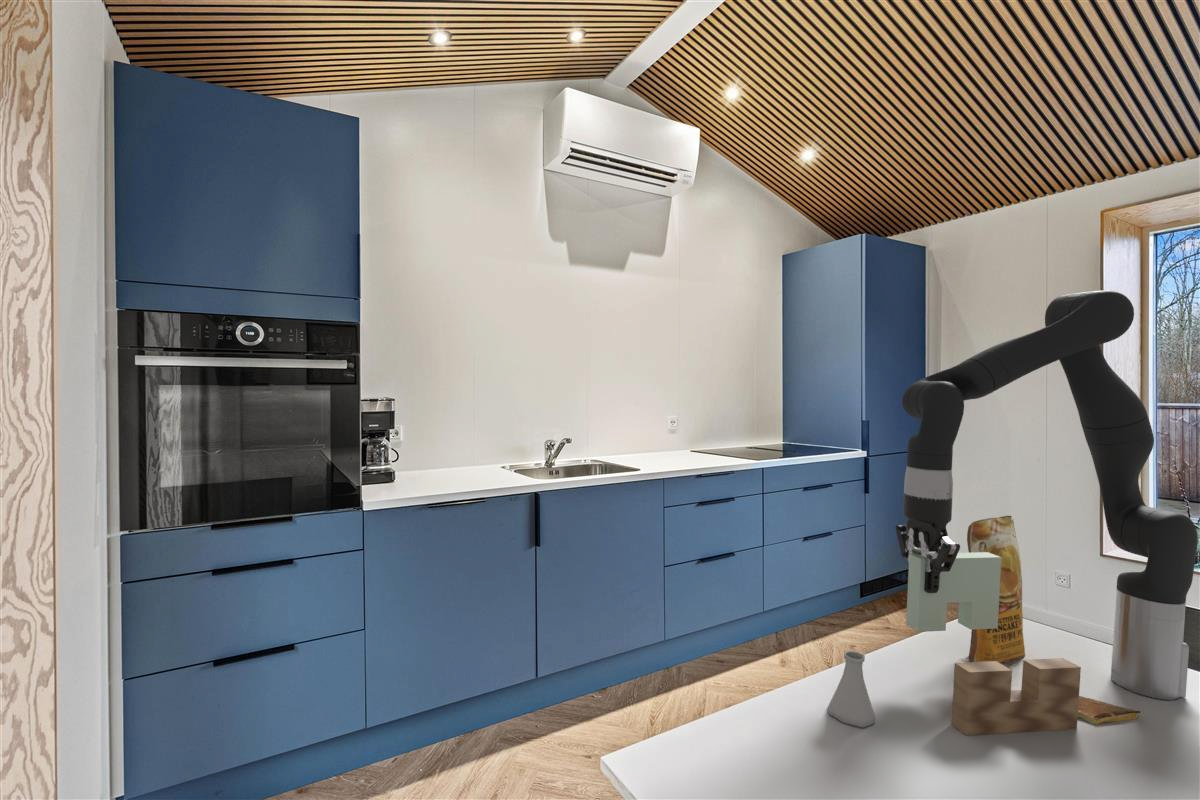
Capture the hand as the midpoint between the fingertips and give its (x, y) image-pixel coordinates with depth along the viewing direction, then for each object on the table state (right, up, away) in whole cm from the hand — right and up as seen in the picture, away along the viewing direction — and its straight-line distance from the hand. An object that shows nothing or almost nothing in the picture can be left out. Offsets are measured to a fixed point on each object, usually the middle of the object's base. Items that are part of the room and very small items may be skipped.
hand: (923, 588), depth 103 cm
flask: (-17, -18, -9) cm, 26 cm away
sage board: (+6, -7, +1) cm, 9 cm away
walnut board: (+8, -19, -11) cm, 23 cm away
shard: (+26, -20, -5) cm, 33 cm away
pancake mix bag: (+22, -19, +14) cm, 32 cm away
